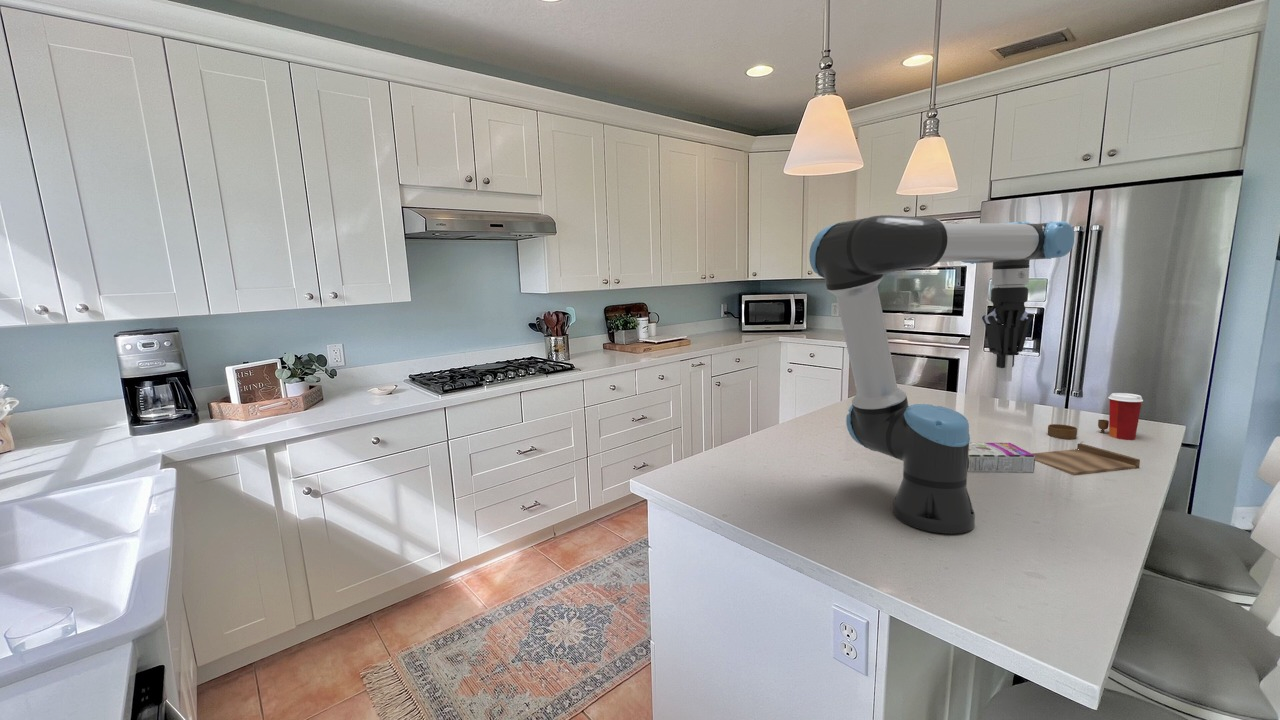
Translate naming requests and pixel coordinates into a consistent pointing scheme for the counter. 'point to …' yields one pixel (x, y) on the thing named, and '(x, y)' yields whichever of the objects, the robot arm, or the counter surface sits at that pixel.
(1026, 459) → the candy bar box
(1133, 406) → the paper cup
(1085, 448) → the board
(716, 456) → the counter surface
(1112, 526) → the counter surface
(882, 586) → the counter surface
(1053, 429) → the place setting
